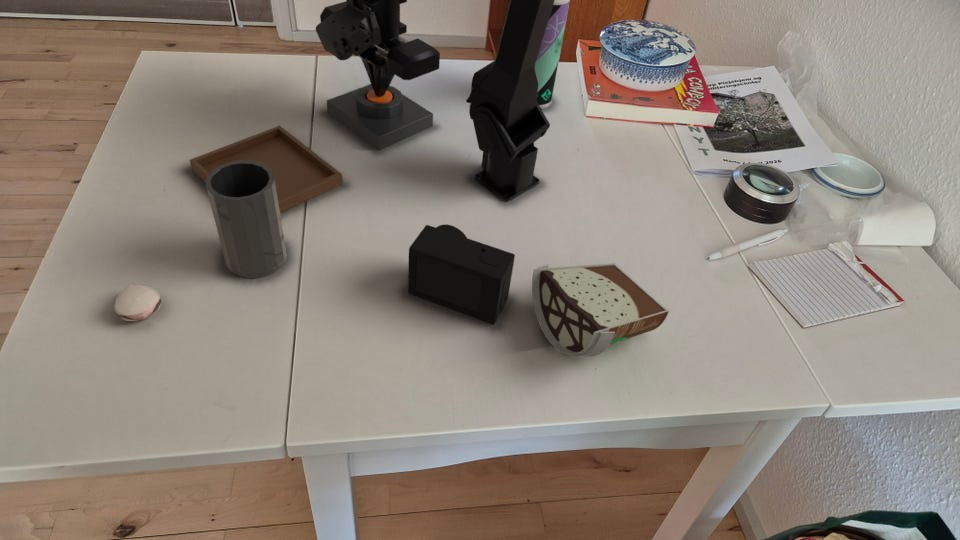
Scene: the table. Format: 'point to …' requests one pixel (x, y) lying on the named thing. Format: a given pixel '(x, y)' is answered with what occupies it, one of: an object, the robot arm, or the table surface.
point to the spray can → (550, 52)
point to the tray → (277, 165)
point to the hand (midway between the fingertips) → (379, 95)
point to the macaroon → (137, 302)
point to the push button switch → (380, 116)
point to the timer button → (379, 100)
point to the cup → (247, 218)
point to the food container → (592, 307)
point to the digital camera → (459, 272)
